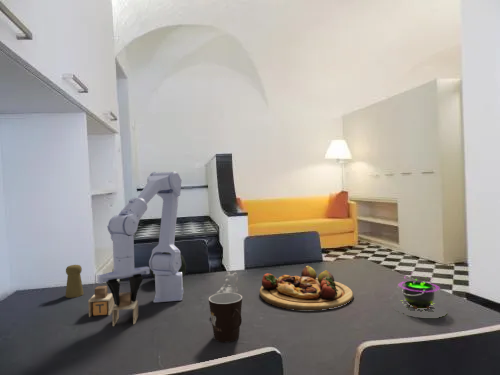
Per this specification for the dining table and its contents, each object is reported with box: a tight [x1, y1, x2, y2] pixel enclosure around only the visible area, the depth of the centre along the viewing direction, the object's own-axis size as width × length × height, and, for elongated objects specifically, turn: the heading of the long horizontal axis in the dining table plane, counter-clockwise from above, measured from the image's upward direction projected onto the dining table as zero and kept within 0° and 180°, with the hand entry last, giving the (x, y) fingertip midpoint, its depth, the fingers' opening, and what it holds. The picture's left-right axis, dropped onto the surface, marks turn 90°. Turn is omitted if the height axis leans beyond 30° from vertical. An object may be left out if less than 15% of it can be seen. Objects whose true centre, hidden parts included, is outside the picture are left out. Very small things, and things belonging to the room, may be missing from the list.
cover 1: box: [87, 285, 115, 318], centre depth 108 cm, size 6×6×8 cm
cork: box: [65, 264, 84, 299], centre depth 127 cm, size 6×6×11 cm
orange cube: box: [92, 301, 108, 317], centre depth 108 cm, size 4×4×4 cm
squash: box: [149, 252, 187, 280], centre depth 143 cm, size 14×15×15 cm
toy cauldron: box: [397, 271, 441, 312], centre depth 104 cm, size 15×15×11 cm
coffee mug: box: [208, 293, 243, 343], centre depth 87 cm, size 12×9×10 cm
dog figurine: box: [215, 271, 239, 294], centre depth 110 cm, size 5×13×11 cm, turn 163°
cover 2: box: [111, 291, 139, 327], centre depth 101 cm, size 6×6×8 cm
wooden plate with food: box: [259, 265, 354, 311], centre depth 120 cm, size 32×32×8 cm
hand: (125, 302), depth 101 cm, fingers closed on cover 2, 4 cm apart
